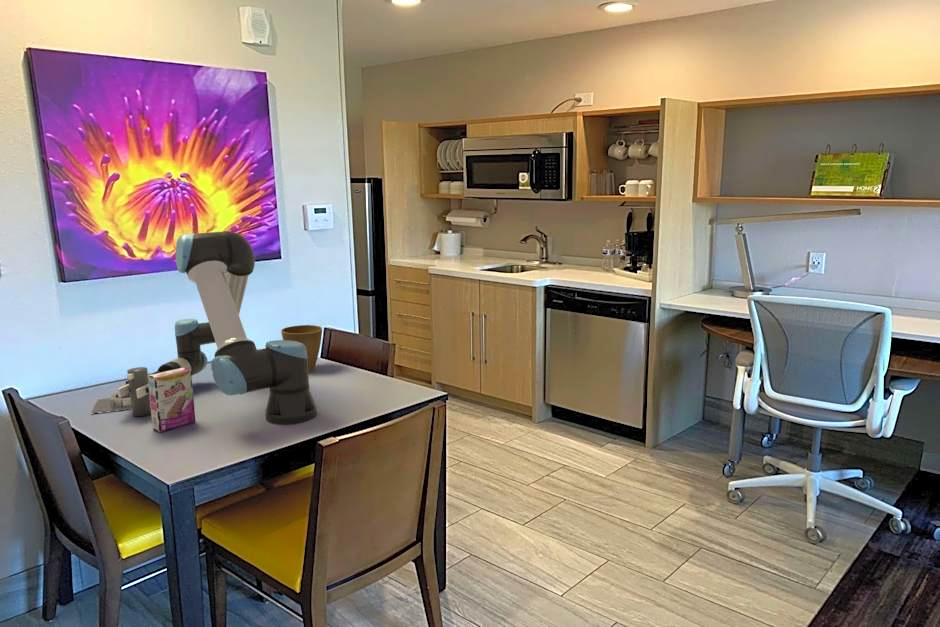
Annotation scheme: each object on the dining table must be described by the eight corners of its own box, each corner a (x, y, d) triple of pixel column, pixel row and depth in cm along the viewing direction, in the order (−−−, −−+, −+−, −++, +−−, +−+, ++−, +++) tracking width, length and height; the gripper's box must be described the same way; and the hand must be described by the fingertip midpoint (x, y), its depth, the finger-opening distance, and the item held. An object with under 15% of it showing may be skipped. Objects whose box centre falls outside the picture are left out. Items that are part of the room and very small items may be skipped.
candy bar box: (160, 433, 195) (154, 378, 192) (152, 429, 198) (145, 375, 195) (197, 422, 203) (191, 369, 200) (188, 418, 206) (183, 366, 203)
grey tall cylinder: (140, 409, 214) (134, 366, 211) (155, 410, 213) (151, 367, 210) (125, 417, 207) (120, 373, 205) (142, 418, 206) (136, 373, 204)
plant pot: (293, 378, 246) (290, 335, 243) (278, 369, 258) (275, 328, 255) (331, 371, 255) (328, 329, 252) (315, 362, 267) (312, 322, 264)
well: (161, 406, 218) (160, 396, 218) (91, 414, 211) (90, 405, 211) (164, 393, 231) (163, 384, 230) (98, 401, 224) (97, 392, 224)
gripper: (200, 383, 226) (157, 406, 203) (149, 382, 229) (102, 404, 207) (198, 361, 224) (154, 382, 202) (147, 360, 227) (99, 380, 205)
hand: (128, 393), depth 204 cm, fingers closed on grey tall cylinder, 5 cm apart
